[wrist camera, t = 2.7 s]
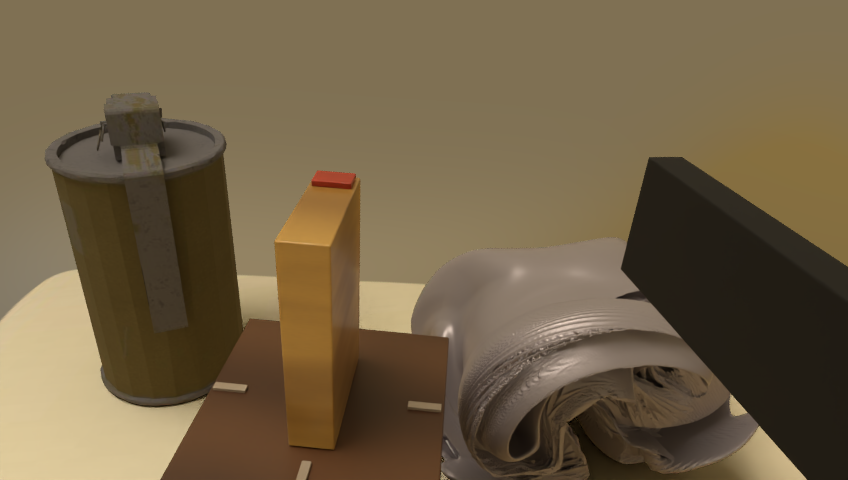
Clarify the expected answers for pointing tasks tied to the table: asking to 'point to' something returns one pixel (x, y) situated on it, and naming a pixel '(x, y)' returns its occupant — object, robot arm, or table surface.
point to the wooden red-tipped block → (319, 306)
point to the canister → (151, 248)
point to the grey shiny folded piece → (567, 368)
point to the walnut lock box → (361, 425)
